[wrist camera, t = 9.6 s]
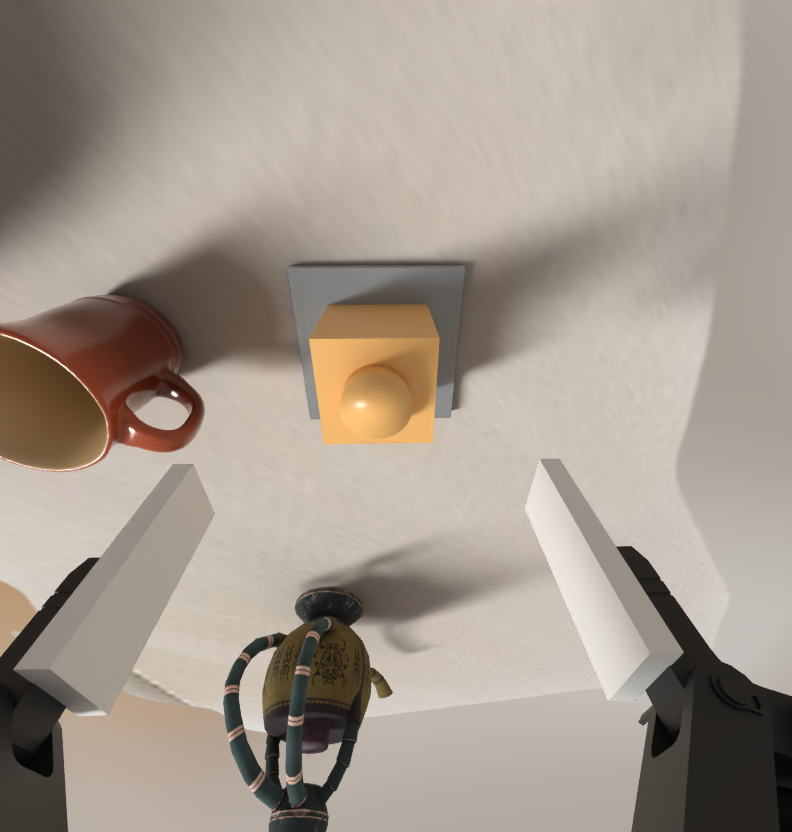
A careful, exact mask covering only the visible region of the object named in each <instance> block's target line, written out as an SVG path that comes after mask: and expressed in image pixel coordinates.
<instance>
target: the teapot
mask: <svg viewBox="0 0 792 832" xmlns="http://www.w3.org/2000/svg"><path fill="white" fill-rule="evenodd" d="M295 611H296V614H297V615H298V616H299V617H300V619H301V620H302V621H303V622H304V623H305V624H303V625H301V626H300V627H298V628H297V629H295V630H294V631H292V632H291V633H290V634H289V635H288V636H287V635H285V634H282V633H279V632H278V633H276V634H273V635H269V636H265V637H261V638H257V639H255V640H254V641H253V642H252V643H251V644H249V645H248V646H247V647H246V648H245V649H244V650H243V652H242V653H241V654H240V656H239V657H238V659H237V660H236V661H235V663H234V664H233V666H232V669H231V671H230V673H229V676H228V678H227V680H226V683H225V691H224V701H223V705H224V714H225V722H226V728H227V733H228V737H229V742H230V747H231V751H232V754H233V756H234V758H235V761H236V763H237V765H238V767H239V770H240V772H241V774H242V776H243V778H244V780H245V782H246V784H247V785H248V786H249V787H250V789H251V790H252V792H253V793H254V794H255V796H256V797H257V798H258V799H260V800H261V801H262V802H263V803H264V804H266V805H267V806H268V807H269V808H271V809H272V814H271V816H270V821H269V832H326V829H327V825H328V818H329V816H328V812H327V808H326V802H327V800H328V799H329V797H330V796H331V795H332V793H333V792H334V791H336V790H337V788H338V786H339V783H340V781H341V779H342V777H343V775H344V773H345V771H346V768H347V767H349V765H350V760H351V756H352V752H353V747H354V744H355V743H356V742H357V734H358V730H359V728H360V725H361V723H362V720H363V718H364V715H365V712H366V709H367V706H368V702H369V699H370V694H371V682H373V684H374V685H375V687H376V690H377V693H378V696H379V698H385V697H388V696H390V695H391V694H392V693H393V692H392V690H391V688H390V687H389V685H388V683H387V682H386V680H385V679H384V677H383V676H382V675H381V674H380V673H379V672H378V671H376V670H375V669H374V668H370V661H369V655H368V653H367V651H366V648H365V646H364V643H363V641H362V640H361V639H360V638H359V636H358V635H357V634H356V633H355V632H354V631H353V630H352V629H351V628H350V627H349V626H350V625H352V624H353V623H354V622H356V621H357V620H358V619H359V618H360V617H361V615H362V613H363V604H362V602H361V600H360V599H359V598H358V597H357V596H356V595H354V594H353V593H351V592H348V591H346V590H343V589H338V588H331V587H328V588H317V589H312V590H309V591H307V592H305V593H303V594H301V595H300V597H299V598H298V599H297V601H296V605H295ZM272 647H277V649H276V651H275V652H274V654H273V657H272V659H271V662H270V664H269V667H268V669H267V673H266V677H265V682H264V687H263V718H264V727H265V730H266V732H267V733H268V736H267V740H266V744H267V748H266V754H265V760H266V771H265V773H264V772H263V770H262V769H261V768H260V766H259V765H258V763H257V761H256V759H255V756H254V754H253V752H252V750H251V748H250V746H249V744H248V742H247V738H246V734H245V730H244V726H243V721H242V717H241V711H240V704H239V685H240V680H241V678H242V675H243V672H244V670H245V668H246V667H247V665H248V664H249V662H250V661H251V659H252V658H253V657H254V656H256V655H257V654H258V653H259V652H260V651H263V650H266V649H269V648H272ZM280 740H282V741H284V742H286V785H287V786H286V787H285V789H282V786H281V783H280V780H279V777H278V775H279V765H278V758H279V743H280ZM339 742H342V744H341V747H340V750H339V753H338V756H337V762H336V764H335V766H334V768H333V770H332V771H331V773H330V775H329V777H328V779H327V782H326V783H325V784H324V785H323V787H321V786H319V785H316V784H309V783H304V782H303V776H302V753H307V754H314V753H321V752H324V751H325V750H327V748H328V744H334V743H339Z"/></svg>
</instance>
